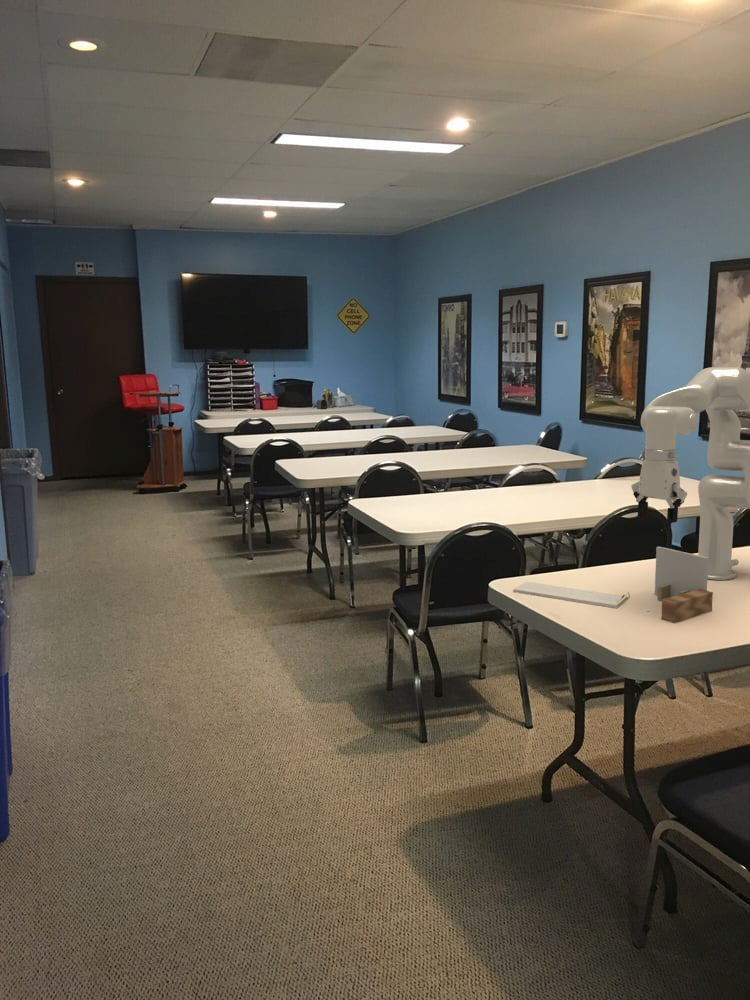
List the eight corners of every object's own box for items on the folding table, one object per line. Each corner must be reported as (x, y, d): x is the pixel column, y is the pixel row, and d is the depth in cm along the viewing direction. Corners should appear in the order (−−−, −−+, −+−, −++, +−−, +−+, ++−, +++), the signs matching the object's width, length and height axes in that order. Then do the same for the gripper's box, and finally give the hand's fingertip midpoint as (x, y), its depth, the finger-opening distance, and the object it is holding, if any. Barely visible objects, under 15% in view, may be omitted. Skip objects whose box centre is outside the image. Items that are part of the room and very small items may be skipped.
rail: (698, 608, 213) (699, 588, 212) (711, 611, 209) (712, 592, 208) (661, 619, 204) (662, 599, 203) (674, 624, 201) (675, 603, 200)
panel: (657, 593, 226) (659, 546, 223) (706, 607, 212) (708, 557, 210) (645, 596, 223) (647, 549, 221) (694, 610, 210) (696, 560, 207)
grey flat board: (529, 584, 241) (513, 594, 231) (529, 575, 240) (513, 584, 230) (630, 599, 223) (616, 610, 213) (630, 589, 223) (617, 600, 213)
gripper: (697, 457, 199) (693, 523, 202) (643, 452, 214) (641, 513, 217) (677, 460, 195) (674, 526, 198) (624, 454, 210) (622, 516, 213)
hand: (657, 519), depth 208 cm, fingers open, 9 cm apart
